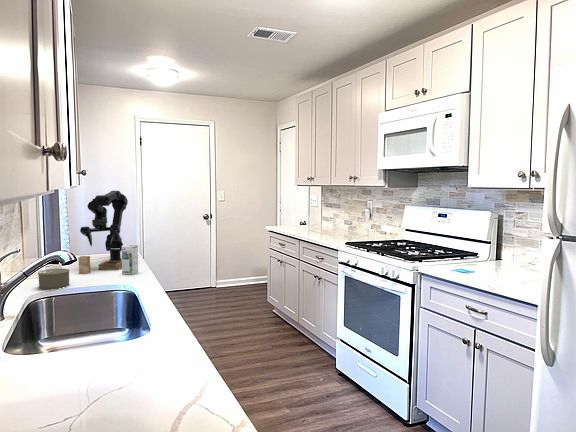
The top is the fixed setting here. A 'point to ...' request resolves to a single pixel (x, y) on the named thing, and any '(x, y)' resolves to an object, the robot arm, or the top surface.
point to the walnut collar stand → (110, 265)
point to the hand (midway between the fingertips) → (100, 245)
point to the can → (53, 279)
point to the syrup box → (129, 259)
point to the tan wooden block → (84, 264)
